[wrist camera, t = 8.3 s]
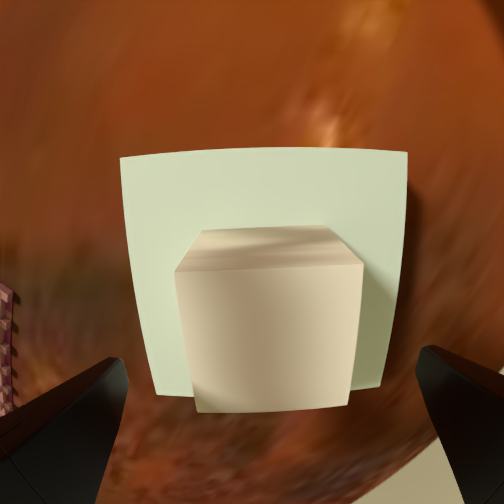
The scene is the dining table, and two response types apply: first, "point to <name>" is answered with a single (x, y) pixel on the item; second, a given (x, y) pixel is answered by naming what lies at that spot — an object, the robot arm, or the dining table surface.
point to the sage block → (262, 215)
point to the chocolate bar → (5, 349)
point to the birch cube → (269, 318)
